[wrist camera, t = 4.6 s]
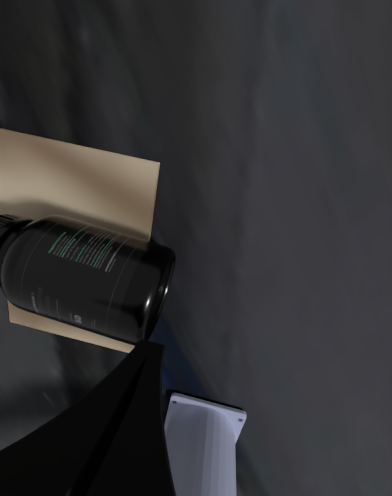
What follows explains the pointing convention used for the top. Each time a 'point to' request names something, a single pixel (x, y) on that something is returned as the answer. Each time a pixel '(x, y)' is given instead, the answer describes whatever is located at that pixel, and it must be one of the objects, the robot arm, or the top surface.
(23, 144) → the tan paper sheet
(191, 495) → the robot arm
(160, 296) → the supplement bottle
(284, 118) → the top surface
